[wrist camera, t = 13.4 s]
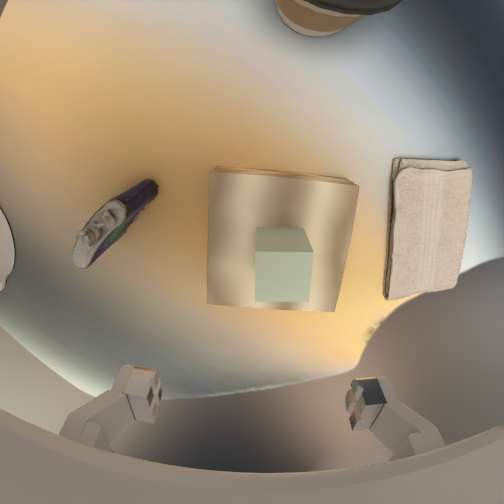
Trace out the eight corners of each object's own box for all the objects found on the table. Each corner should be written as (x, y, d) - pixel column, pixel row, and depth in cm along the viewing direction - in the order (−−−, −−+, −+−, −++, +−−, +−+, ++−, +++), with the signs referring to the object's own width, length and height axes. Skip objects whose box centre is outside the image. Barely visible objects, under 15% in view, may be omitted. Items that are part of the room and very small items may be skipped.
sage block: (256, 270, 30) (254, 301, 25) (256, 227, 29) (255, 251, 23) (300, 270, 30) (308, 301, 25) (303, 228, 28) (313, 252, 23)
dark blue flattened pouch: (117, 242, 34) (74, 283, 25) (101, 226, 34) (53, 261, 24) (164, 189, 32) (125, 216, 22) (146, 171, 31) (100, 191, 21)
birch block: (213, 282, 37) (207, 303, 32) (217, 166, 31) (210, 172, 27) (326, 289, 37) (334, 311, 32) (345, 178, 31) (359, 186, 27)
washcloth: (462, 157, 29) (477, 161, 27) (450, 282, 36) (461, 293, 33) (384, 156, 30) (395, 159, 27) (380, 294, 37) (388, 307, 34)
